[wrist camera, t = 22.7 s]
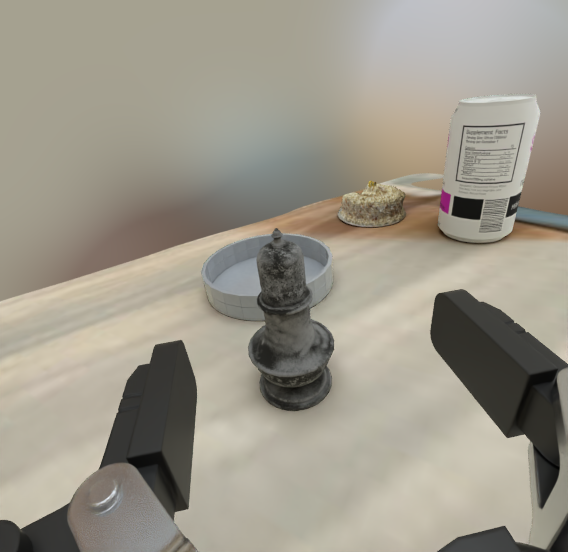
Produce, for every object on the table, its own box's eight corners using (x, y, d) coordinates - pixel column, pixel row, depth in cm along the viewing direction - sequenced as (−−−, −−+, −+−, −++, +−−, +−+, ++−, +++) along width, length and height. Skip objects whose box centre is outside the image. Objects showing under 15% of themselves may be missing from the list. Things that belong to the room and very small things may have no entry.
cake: (416, 212, 52) (422, 177, 49) (385, 237, 46) (389, 199, 43) (359, 198, 58) (361, 166, 55) (324, 219, 52) (324, 184, 49)
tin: (198, 329, 32) (191, 304, 30) (214, 261, 44) (209, 241, 42) (346, 310, 32) (345, 284, 31) (321, 247, 44) (320, 227, 43)
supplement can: (423, 228, 46) (436, 102, 38) (472, 214, 48) (494, 93, 40) (472, 251, 39) (499, 104, 31) (527, 234, 41) (565, 93, 33)
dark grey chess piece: (340, 356, 27) (335, 209, 21) (329, 420, 22) (318, 253, 16) (269, 348, 28) (246, 210, 22) (244, 407, 24) (205, 250, 18)
